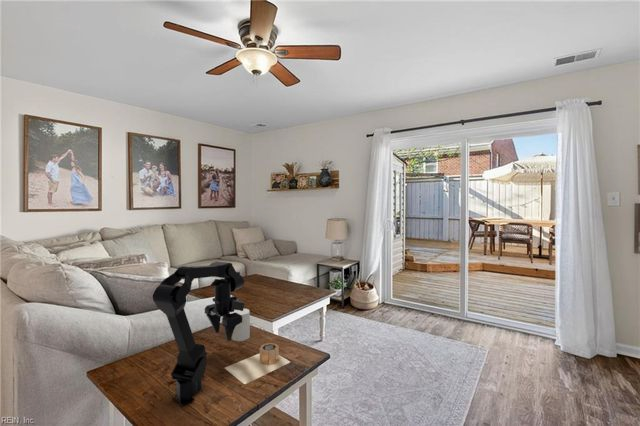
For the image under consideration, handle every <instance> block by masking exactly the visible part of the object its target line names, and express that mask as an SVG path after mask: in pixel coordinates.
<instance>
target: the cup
mask: <svg viewBox="0 0 640 426" xmlns="http://www.w3.org/2000/svg"><path fill="white" fill-rule="evenodd" d="M235 312H236V313H238V314H240V315H241V316H242V323H240V324H238V325H236V327H235V329H234V331H233V334H232V337H231V340H232V341H235V342H244V341H247V340H249V338H250V336H251V335H250V334H251V333H250V332H251V328H250V327H251V326H250V325H251V317H250V314H251V312H250V309H248V308H244V309H243V311H240V310H234V312H231V314H232V313H235ZM246 339H247V340H246Z"/></svg>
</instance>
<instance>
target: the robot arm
mask: <svg viewBox="0 0 640 426" xmlns="http://www.w3.org/2000/svg"><path fill="white" fill-rule="evenodd" d="M204 278H215V279H214V280H213V281H212V282H211V283H210V286H211V287H214V297H212V302H214V303H211V304H208V305H206V306H205V308H204V314H205V315H206V317H207V319H208V321H209V322H210V324H211V326H212V327H213V330H214V331H215V333H216V334H217V333H220V326H221V327H222V330H223V332H224V335H225V338H226V340H227V342H230V341H231V340H232V334H233V331H234V329H235V327H236V325H238V324H240V323H242V316H241V315H240V314H238V313H236V312H235V313H232V312H234V310H240V311H243V309H245V305H246V303H245V302H244V301H242V300H241V299H240V300H239V299H238V297H237V296H234V295H231V293H233V292H234V291H236V290H239V289H241V288H242V287H244V285H245V278H244V277H243V275H241V271H236V269H235V267H234V266H233V263H232V262H223V261H215V262H211V263H210V264H209V265H208V264H207V265H195V266H184V265H183V266H179V267H178V268H177V269H176V270H175V272H173V273H172V274H171V275H168V276H166V278H165V279H163V280H162V281H161V282H160V283H159V285H158V286H157V287H156V288H155V290H154V291H153V294H152V300H153V303H154V304H155V305H156V307H157V309H159V310H160V311H161V312H162V313H163V314H164V315H165V316H166V318H167V321H168V324H169V326H170V329H171V332H172V334H173V337H174V340H175V343H176V345H177V348H178V353H177V356H176V361H177V362H176V364H175V365H174V368H173V370H172V372H171V373H170V377H171V378H172V380H176V394H175V395H174V398H175V400H176V401H177V402H178V403H179V405H180V406H186V405H188V404H190V403H192V402H194V401H195V398H194V396H196V395H197V394H198V393H199V392H200V391H201V390H202V379H203V377H205V372H206V367H207V363H208V357H207V356H208V353H207V351H206V348H205V347H206V346H205V345H204V344H201V343H196V341H195V340H196V339H195V337H194V334H193V332H192V329H191V325H190V323H189V319H188V317H187V314H186V311H185V307H186V304H187V301H188V299H187V296H188V295H189V293H190V291H192V284H193V281H194V280H195V279H204ZM182 280H184V282H183V283H182V285H176V284H178V283H179V282H181V281H182ZM221 322H222V324H221Z"/></svg>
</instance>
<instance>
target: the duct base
mask: <svg viewBox="0 0 640 426" xmlns="http://www.w3.org/2000/svg"><path fill="white" fill-rule="evenodd" d="M265 350H268V351H269V350H273V346H272V345H268V346H266V347H265ZM290 363H291V361H290V360H288V359H286V358H285V357H283V356H281V355H280V354H279V360H278V361H277V362H276V363H275V364H271V365H265V364H262V363H261V362H260V352H259V353H257V354H254V355H252V356H250V357H248V358H245V359H243V360H240V361H238V362H236V363H233V364H230V365H228V366H225V367H224V369H225V370H226V371H228V373H230V374H231V375H232V376H233V377H234V378H236V379H237V380H239V382H241V383H242V384H244V385H246V384H249V383H251V382H253V381H255V380H257V379H260V378H261V377H263V376H265V375H267V374H269V373H271V372H273V371H276V370H278V369H280V368H283V366H286V365H288V364H290Z"/></svg>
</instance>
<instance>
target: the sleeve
mask: <svg viewBox="0 0 640 426" xmlns="http://www.w3.org/2000/svg"><path fill="white" fill-rule="evenodd" d="M268 345H272V346H273V350H269V351H268V350H265V347H266V346H268ZM279 349H280V348H279V345H278V344H277V343H273V342H268V343H267V342H266V343H264V344H261V346H260V347H259V353H260V362H261V363H262V364H265V365H271V364H275V363H276V362H277V361H278V360H279V355H280V354H279V353H280V352H279V351H280V350H279Z"/></svg>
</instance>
